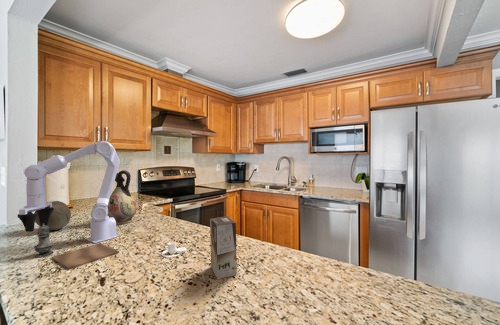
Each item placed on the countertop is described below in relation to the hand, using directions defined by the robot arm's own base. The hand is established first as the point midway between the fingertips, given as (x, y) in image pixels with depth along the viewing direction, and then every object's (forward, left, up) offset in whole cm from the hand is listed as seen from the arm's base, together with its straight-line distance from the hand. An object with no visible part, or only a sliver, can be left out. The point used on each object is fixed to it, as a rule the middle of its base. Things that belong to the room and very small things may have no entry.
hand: (37, 228), depth 92 cm
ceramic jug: (-39, -11, -9) cm, 42 cm away
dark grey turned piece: (0, +9, -9) cm, 12 cm away
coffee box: (-27, +75, -9) cm, 80 cm away
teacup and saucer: (-26, +52, -9) cm, 59 cm away
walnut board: (-8, +24, -9) cm, 26 cm away
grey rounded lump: (-12, -27, -9) cm, 31 cm away
